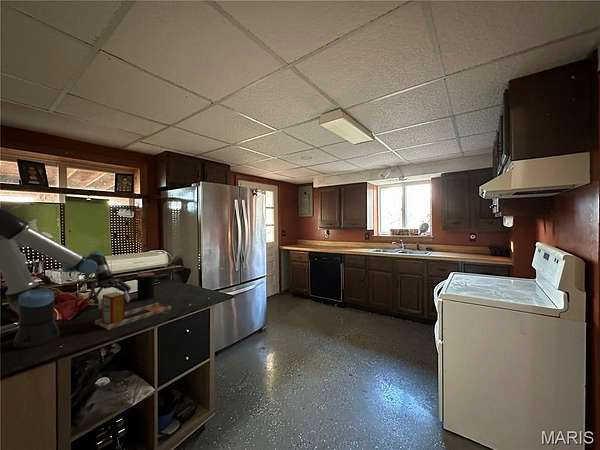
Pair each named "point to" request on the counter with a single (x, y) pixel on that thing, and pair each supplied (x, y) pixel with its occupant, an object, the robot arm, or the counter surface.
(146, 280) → the coffee jar
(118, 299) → the baking soda box
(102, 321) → the channel
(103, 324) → the pad
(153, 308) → the trap pad
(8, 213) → the robot arm
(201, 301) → the counter surface
